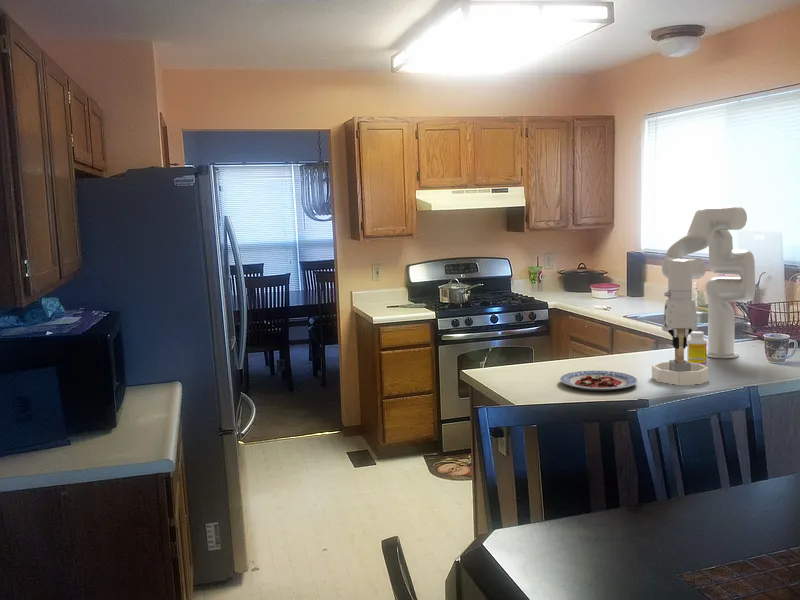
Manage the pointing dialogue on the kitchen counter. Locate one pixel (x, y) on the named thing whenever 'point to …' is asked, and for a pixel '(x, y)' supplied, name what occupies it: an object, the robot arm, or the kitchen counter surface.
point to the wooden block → (680, 347)
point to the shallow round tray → (680, 373)
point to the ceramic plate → (599, 380)
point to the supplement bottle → (697, 348)
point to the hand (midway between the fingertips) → (679, 347)
